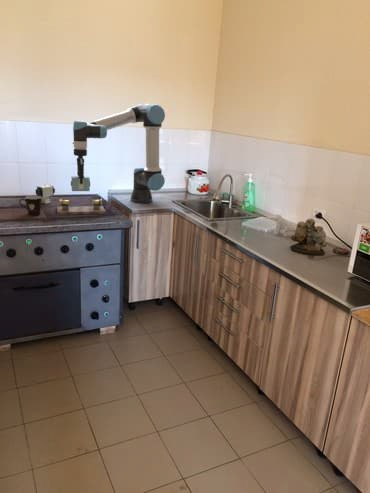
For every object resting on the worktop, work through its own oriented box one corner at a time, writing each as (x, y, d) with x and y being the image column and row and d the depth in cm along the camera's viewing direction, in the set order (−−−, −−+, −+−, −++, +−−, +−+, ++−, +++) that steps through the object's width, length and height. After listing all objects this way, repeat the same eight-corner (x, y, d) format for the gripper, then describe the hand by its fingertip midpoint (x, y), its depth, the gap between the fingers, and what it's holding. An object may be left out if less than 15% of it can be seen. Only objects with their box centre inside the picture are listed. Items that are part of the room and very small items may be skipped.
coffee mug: (45, 214, 246) (44, 197, 242) (34, 217, 238) (33, 199, 235) (30, 210, 250) (29, 194, 247) (18, 213, 242) (17, 196, 239)
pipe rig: (101, 207, 262) (101, 198, 260) (102, 209, 258) (102, 199, 256) (59, 208, 254) (59, 198, 252) (60, 210, 250) (59, 200, 248)
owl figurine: (288, 253, 209) (293, 219, 204) (287, 246, 220) (292, 214, 215) (326, 257, 206) (332, 223, 200) (323, 250, 217) (329, 218, 212)
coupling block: (89, 189, 257) (89, 176, 254) (90, 191, 252) (90, 177, 250) (70, 189, 253) (70, 176, 250) (71, 191, 248) (71, 177, 246)
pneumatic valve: (55, 202, 274) (55, 184, 270) (40, 205, 265) (39, 186, 261) (50, 200, 277) (49, 182, 273) (34, 203, 267) (34, 184, 264)
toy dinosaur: (263, 228, 244) (268, 210, 240) (305, 240, 236) (310, 221, 232) (260, 231, 238) (265, 212, 235) (302, 243, 230) (308, 224, 226)
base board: (102, 208, 267) (102, 206, 267) (105, 213, 256) (105, 211, 255) (56, 209, 258) (56, 206, 257) (57, 214, 246) (57, 212, 246)
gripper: (72, 146, 252) (72, 185, 259) (75, 150, 235) (75, 191, 243) (85, 147, 254) (85, 185, 261) (88, 150, 238) (88, 191, 245)
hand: (80, 188), depth 252 cm, fingers closed on coupling block, 5 cm apart
